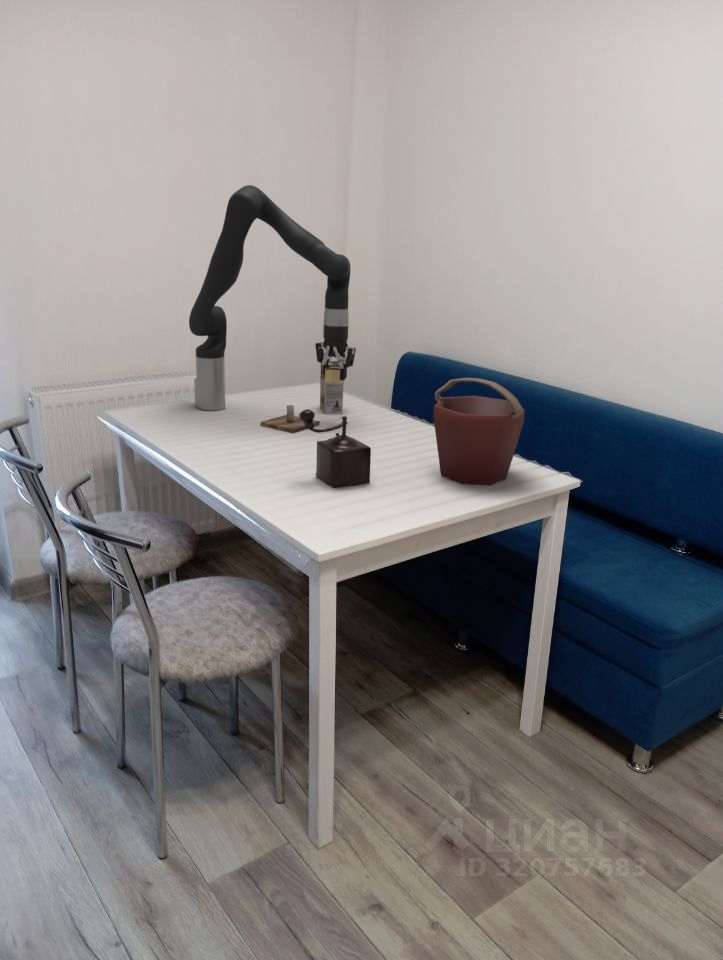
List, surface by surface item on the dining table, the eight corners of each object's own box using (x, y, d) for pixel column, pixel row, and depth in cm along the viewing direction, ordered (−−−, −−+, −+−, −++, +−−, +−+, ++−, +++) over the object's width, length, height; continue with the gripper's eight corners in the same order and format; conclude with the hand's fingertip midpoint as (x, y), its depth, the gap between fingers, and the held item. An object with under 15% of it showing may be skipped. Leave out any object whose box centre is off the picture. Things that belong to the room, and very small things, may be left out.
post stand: (260, 425, 248) (260, 406, 246) (287, 417, 258) (287, 399, 256) (293, 433, 241) (293, 413, 239) (319, 424, 251) (319, 405, 249)
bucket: (411, 468, 212) (416, 375, 204) (472, 456, 225) (479, 368, 217) (475, 495, 194) (484, 394, 186) (538, 480, 206) (548, 385, 198)
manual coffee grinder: (349, 470, 209) (351, 403, 203) (370, 483, 200) (373, 413, 194) (295, 478, 201) (296, 408, 196) (315, 491, 192) (316, 419, 187)
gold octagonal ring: (321, 381, 246) (321, 368, 245) (332, 379, 251) (332, 366, 250) (336, 384, 243) (336, 371, 242) (347, 381, 248) (347, 368, 247)
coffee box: (319, 407, 273) (320, 360, 268) (337, 407, 274) (338, 360, 269) (324, 414, 265) (325, 366, 259) (343, 413, 266) (344, 365, 261)
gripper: (309, 321, 242) (308, 377, 248) (348, 327, 235) (346, 384, 240) (324, 319, 248) (323, 373, 254) (362, 325, 240) (360, 380, 246)
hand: (334, 378), depth 247 cm, fingers closed on gold octagonal ring, 5 cm apart
